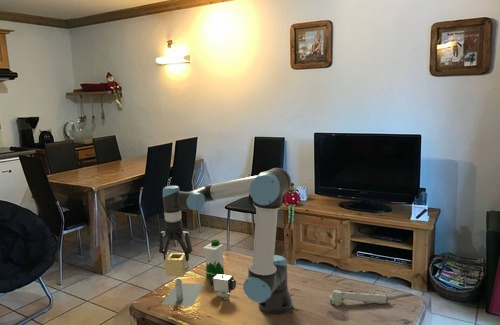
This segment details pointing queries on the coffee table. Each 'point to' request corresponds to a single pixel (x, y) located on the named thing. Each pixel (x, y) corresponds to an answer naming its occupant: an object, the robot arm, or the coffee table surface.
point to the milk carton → (214, 259)
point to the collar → (175, 265)
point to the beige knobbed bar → (357, 297)
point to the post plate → (183, 294)
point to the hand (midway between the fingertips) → (177, 267)
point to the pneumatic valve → (223, 285)
